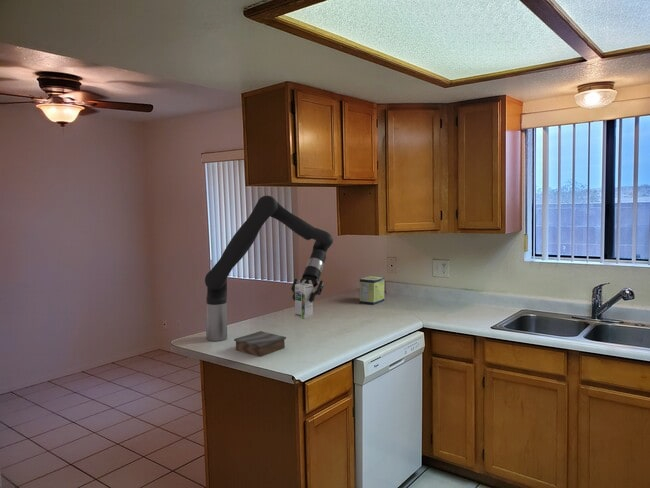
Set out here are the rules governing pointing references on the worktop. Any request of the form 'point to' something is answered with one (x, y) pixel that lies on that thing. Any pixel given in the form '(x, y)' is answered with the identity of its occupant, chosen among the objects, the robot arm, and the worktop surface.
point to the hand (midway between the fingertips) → (302, 300)
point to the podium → (260, 343)
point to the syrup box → (303, 301)
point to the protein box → (371, 290)
